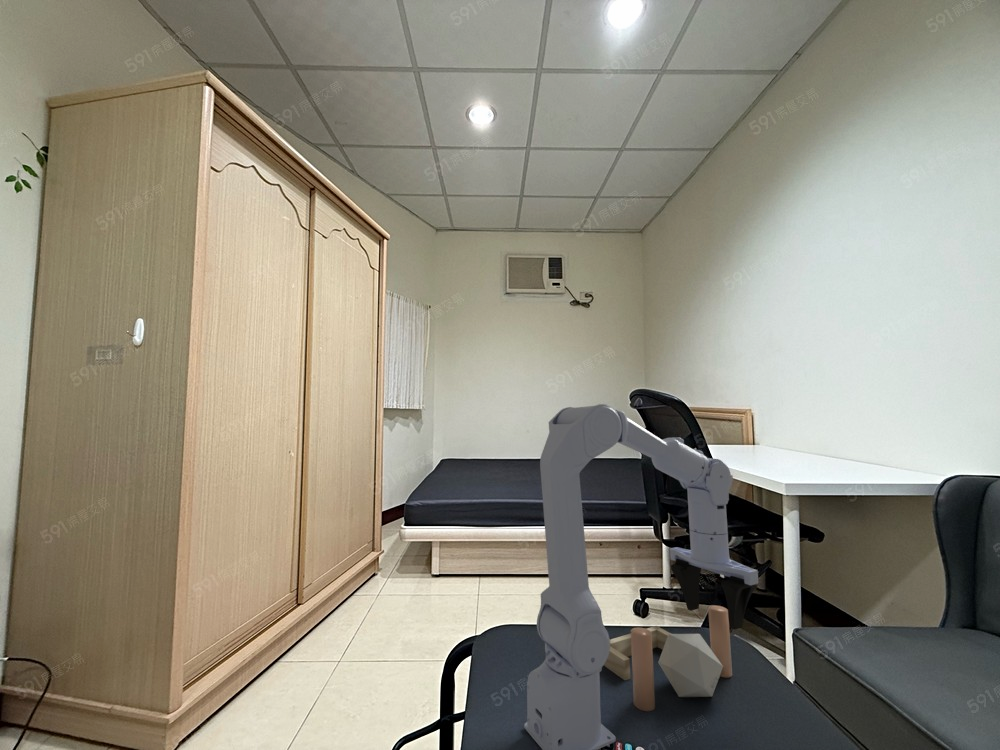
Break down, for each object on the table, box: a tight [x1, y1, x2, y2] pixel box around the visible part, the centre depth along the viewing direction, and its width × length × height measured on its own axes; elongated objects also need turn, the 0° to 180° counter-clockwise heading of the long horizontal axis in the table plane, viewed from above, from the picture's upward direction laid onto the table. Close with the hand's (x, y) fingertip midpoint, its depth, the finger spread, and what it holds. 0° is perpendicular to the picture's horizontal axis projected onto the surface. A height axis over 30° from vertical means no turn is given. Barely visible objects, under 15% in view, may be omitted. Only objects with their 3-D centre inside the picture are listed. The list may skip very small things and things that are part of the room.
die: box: [657, 633, 723, 698], centre depth 66 cm, size 8×9×10 cm
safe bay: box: [603, 625, 672, 681], centre depth 74 cm, size 14×6×3 cm, turn 118°
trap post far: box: [707, 604, 733, 679], centre depth 71 cm, size 3×3×10 cm
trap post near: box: [630, 627, 656, 712], centre depth 63 cm, size 3×3×10 cm
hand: (713, 617), depth 68 cm, fingers open, 7 cm apart
